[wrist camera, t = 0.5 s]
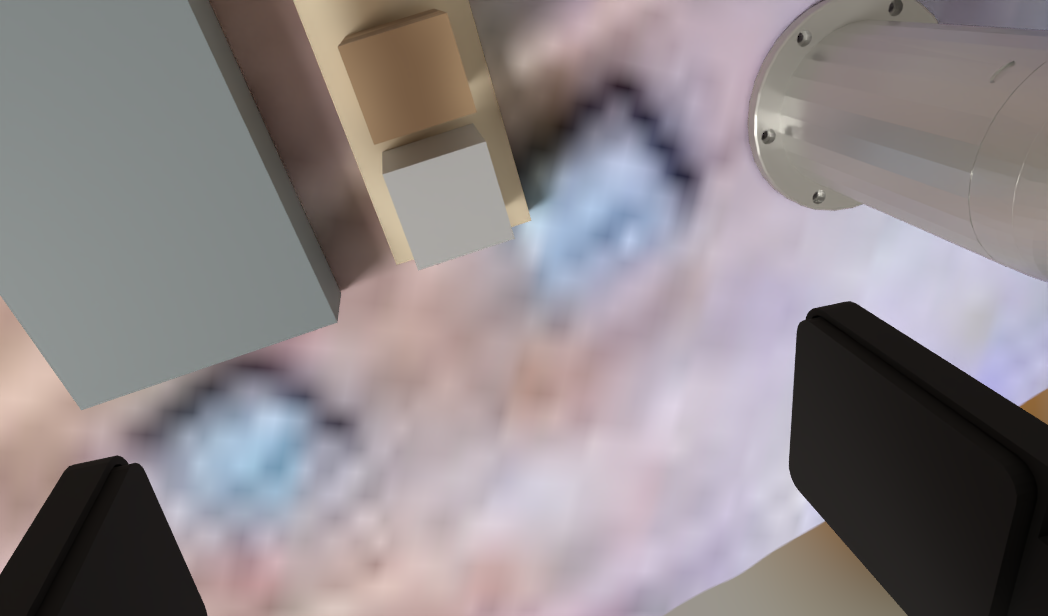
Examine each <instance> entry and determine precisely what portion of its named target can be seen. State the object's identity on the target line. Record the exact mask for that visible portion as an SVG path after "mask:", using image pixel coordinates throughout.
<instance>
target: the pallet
mask: <svg viewBox="0 0 1048 616" xmlns="http://www.w3.org/2000/svg"><path fill="white" fill-rule="evenodd" d="M293 1H294V4H295V6H296V9H297V11H298V14H299V16H300V19H301V22H302V24H303V27H304V29H305V32H306V34H307V37H308V39H309V42H310V45H311V47H312V50H313V52H314V55H315V57H316V60H317V63H318V65H319V68H320V70H321V73H322V75H323V78H324V80H325V83H326V86H327V88H328V91H329V93H330V96H331V98H332V101H333V103H334V106H335V109H336V111H337V114H338V116H339V119H340V121H341V124H342V126H343V129H344V132H345V134H346V137H347V139H348V142H349V144H350V147H351V150H352V152H353V155H354V157H355V160H356V162H357V165H358V167H359V170H360V173H361V175H362V178H363V180H364V183H365V185H366V188H367V190H368V193H369V196H370V198H371V201H372V203H373V206H374V208H375V211H376V213H377V216H378V219H379V221H380V224H381V226H382V229H383V231H384V234H385V237H386V239H387V242H388V244H389V247H390V249H391V252H392V254H393V257H394V260H395V262H396V265H398V264H401V263H404V262H407V261H410V260H413V259H414V257H413V255H412V252H411V249H410V247H409V244H408V241H407V239H406V236H405V233H404V231H403V228H402V225H401V223H400V220H399V217H398V215H397V212H396V209H395V207H394V204H393V201H392V199H391V196H390V193H389V191H388V188H387V185H386V183H385V180H384V177H383V175H382V152H384V151H387V150H391V149H394V148H397V147H400V146H403V145H406V144H409V143H412V142H416V141H419V140H422V139H425V138H428V137H431V136H434V135H438V134H441V133H444V132H447V131H450V130H453V129H456V128H459V127H463V126H466V125H469V124H472V123H473V124H474V125H475V127H476V128H477V130H478V131H479V133H480V134H481V135H482V137H483V138H484V140H485V141H486V144H487V147H488V151H489V154H490V157H491V161H492V164H493V167H494V171H495V174H496V177H497V181H498V184H499V188H500V191H501V194H502V198H503V201H504V204H505V208H506V211H507V214H508V218H509V221H510V224H511V227H513V226H516V225H519V224H522V223H525V222H528V221H531V218H530V214H529V211H528V207H527V204H526V200H525V197H524V193H523V190H522V186H521V183H520V179H519V176H518V172H517V169H516V165H515V162H514V158H513V155H512V151H511V148H510V144H509V141H508V137H507V134H506V130H505V127H504V123H503V120H502V116H501V113H500V109H499V106H498V102H497V99H496V95H495V92H494V88H493V84H492V81H491V77H490V74H489V70H488V67H487V63H486V60H485V56H484V53H483V49H482V46H481V42H480V39H479V35H478V32H477V28H476V25H475V21H474V18H473V14H472V11H471V7H470V4H469V0H293Z"/></svg>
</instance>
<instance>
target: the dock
mask: <svg viewBox="0 0 1048 616" xmlns="http://www.w3.org/2000/svg"><path fill="white" fill-rule="evenodd" d="M0 295H1V297H2V298H3V300H4V301H5V302H6V304H7V305H8V307H9V308H10V310H11V311H12V312H13V314H14V315H15V317H16V318H17V319H18V321H19V322H20V324H21V325H22V327H23V328H24V329H25V331H26V332H27V334H28V335H29V337H30V338H31V339H32V341H33V342H34V344H35V345H36V346H37V348H38V349H39V351H40V352H41V354H42V355H43V356H44V358H45V359H46V361H47V362H48V363H49V365H50V366H51V368H52V369H53V371H54V372H55V373H56V375H57V376H58V378H59V379H60V380H61V382H62V383H63V385H64V386H65V388H66V389H67V390H68V392H69V393H70V395H71V396H72V397H73V399H74V400H75V402H76V403H77V405H78V406H79V407H80V409H81V410H83V409H86V408H89V407H92V406H95V405H98V404H101V403H104V402H107V401H110V400H112V399H115V398H118V397H121V396H124V395H127V394H130V393H133V392H136V391H139V390H142V389H145V388H147V387H150V386H153V385H156V384H159V383H162V382H165V381H168V380H171V379H174V378H177V377H180V376H182V375H185V374H188V373H191V372H194V371H197V370H200V369H203V368H206V367H209V366H212V365H215V364H217V363H220V362H223V361H226V360H229V359H232V358H235V357H238V356H241V355H244V354H247V353H250V352H252V351H255V350H258V349H261V348H264V347H267V346H270V345H273V344H276V343H279V342H282V341H284V340H287V339H290V338H293V337H296V336H299V335H302V334H305V333H308V332H311V331H314V330H317V329H319V328H322V327H325V326H328V325H331V324H334V323H337V321H338V313H339V305H340V298H341V292H340V290H339V288H338V285H337V283H336V281H335V279H334V277H333V274H332V272H331V270H330V268H329V266H328V263H327V261H326V259H325V257H324V254H323V252H322V250H321V248H320V246H319V243H318V241H317V239H316V237H315V235H314V232H313V230H312V228H311V226H310V224H309V221H308V219H307V217H306V215H305V212H304V210H303V208H302V206H301V204H300V201H299V199H298V197H297V195H296V193H295V190H294V188H293V186H292V184H291V182H290V179H289V177H288V175H287V173H286V170H285V168H284V166H283V164H282V162H281V159H280V157H279V155H278V153H277V151H276V148H275V146H274V144H273V142H272V140H271V137H270V135H269V133H268V131H267V128H266V126H265V124H264V122H263V120H262V117H261V115H260V113H259V111H258V109H257V106H256V104H255V102H254V100H253V98H252V95H251V93H250V91H249V89H248V86H247V84H246V82H245V80H244V78H243V75H242V73H241V71H240V69H239V67H238V64H237V62H236V60H235V58H234V56H233V53H232V51H231V49H230V47H229V44H228V42H227V40H226V38H225V36H224V33H223V31H222V29H221V27H220V25H219V22H218V20H217V18H216V16H215V14H214V11H213V9H212V7H211V5H210V2H209V0H0Z"/></svg>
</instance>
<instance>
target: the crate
mask: <svg viewBox="0 0 1048 616" xmlns="http://www.w3.org/2000/svg"><path fill="white" fill-rule="evenodd" d="M382 175H383V177H384V180H385V183H386V185H387V188H388V191H389V193H390V196H391V199H392V201H393V204H394V207H395V209H396V212H397V215H398V217H399V220H400V223H401V225H402V228H403V231H404V233H405V236H406V239H407V241H408V244H409V247H410V249H411V252H412V255H413V257H414V260H415V263H416V265H417V268H418V270H421V269H424V268H427V267H430V266H433V265H436V264H439V263H442V262H445V261H448V260H451V259H454V258H457V257H461V256H464V255H467V254H470V253H473V252H476V251H479V250H482V249H485V248H488V247H491V246H494V245H497V244H500V243H503V242H506V241H509V240H512V239H515V238H514V234H513V231H512V228H511V224H510V221H509V218H508V214H507V211H506V208H505V204H504V201H503V198H502V194H501V191H500V188H499V184H498V181H497V177H496V174H495V171H494V167H493V164H492V161H491V157H490V154H489V151H488V147H487V144H486V141H485V140H484V138H483V137H482V135H481V134H480V133H479V131H478V130H477V128H476V127H475V125H474V124H473V123H472V124H469V125H466V126H463V127H459V128H456V129H453V130H450V131H447V132H444V133H441V134H438V135H434V136H431V137H428V138H425V139H422V140H419V141H416V142H412V143H409V144H406V145H403V146H400V147H397V148H394V149H391V150H387V151H384V152H382Z"/></svg>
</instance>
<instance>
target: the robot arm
mask: <svg viewBox="0 0 1048 616" xmlns="http://www.w3.org/2000/svg"><path fill="white" fill-rule="evenodd" d="M798 35H799V39H798V41H797V37H798ZM763 133H764V136H763V137H762V134H763ZM748 134H749V144H750V147H751V151H752V154H753V158H754V161H755V163H756V165H757V167H758V168H759V170H760V172H761V174H762V176H763V177H764V178H765V180H766V181H767V182H768V183H769V184H770V185H771V186H772V188H773V189H774V190H776V191H777V192H779V193H780V194H781V195H783V196H784V197H786V198H787V199H789V200H791V201H793V202H796V203H798V204H799V205H801V206H805V207H808V208H811V209H815V210H830V211H836V210H842V209H849V208H854V207H856V206H859V205H862V204H865V205H867V206H869V207H872V208H874V209H876V210H879V211H881V212H883V213H885V214H888V215H890V216H892V217H894V218H897V219H899V220H901V221H904V222H906V223H908V224H910V225H913V226H915V227H917V228H919V229H922V230H924V231H926V232H929V233H931V234H933V235H935V236H938V237H940V238H942V239H944V240H947V241H949V242H951V243H954V244H956V245H958V246H960V247H963V248H965V249H967V250H969V251H972V252H974V253H976V254H979V255H981V256H983V257H985V258H988V259H990V260H992V261H994V262H997V263H999V264H1001V265H1003V266H1006V267H1009V268H1011V269H1014V270H1016V271H1018V272H1020V273H1023V274H1025V275H1027V276H1030V277H1033V278H1036V279H1039V280H1042V281H1045V282H1048V30H1037V29H1020V28H1003V27H986V26H969V25H952V24H939V23H938V21H937V19H936V18H935V16H934V15H933V14H932V13H931V12H930V11H929V10H928V9H927V8H926V7H925V6H924V5H923V4H922V3H920V2H918V1H917V0H824V1H822V2H820V3H818V4H817V5H815V6H813V7H811V8H810V9H808V10H807V11H806V12H805V13H803V14H802V15H801V16H800V17H799V18H797V19H796V20H795V21H794V22H792V23H791V25H790V26H789V27H788V28H787V29H786V30H785V31H784V32H783V34H782V35H781V36H780V37H779V38H778V39H777V40H776V42H775V44H774V45H773V47H772V48H771V50H770V51H769V53H768V55H767V56H766V58H765V59H764V61H763V64H762V66H761V68H760V70H759V73H758V75H757V77H756V80H755V83H754V86H753V90H752V94H751V98H750V102H749V112H748ZM789 470H790V475H791V478H792V480H793V482H794V484H795V486H796V487H797V489H798V490H799V491H800V493H801V494H802V495H803V496H804V497H805V498H806V499H807V501H808V502H809V503H810V504H811V505H812V506H813V507H814V509H815V510H816V511H817V512H818V513H819V514H820V515H821V517H822V518H823V519H824V520H825V521H826V522H827V523H828V525H829V526H830V527H831V528H832V529H833V530H834V531H835V533H836V534H837V535H838V536H839V537H840V538H841V539H842V541H843V542H844V543H845V544H846V545H847V546H848V547H849V548H850V550H851V551H852V552H853V553H854V554H855V556H856V557H857V558H858V559H859V560H860V561H861V562H862V563H863V565H864V566H865V567H866V568H867V569H868V570H869V572H870V573H871V574H872V575H873V576H874V577H875V578H876V580H877V581H878V582H879V583H880V584H881V585H882V586H883V588H884V589H885V590H886V591H887V592H888V593H889V594H890V595H891V597H892V598H893V599H894V600H895V601H896V602H897V604H898V605H899V606H900V607H901V608H902V609H903V610H904V611H905V613H906V614H907V615H908V616H1048V425H1047V424H1045V423H1044V422H1042V421H1040V420H1039V419H1038V418H1036V417H1034V416H1033V415H1031V414H1030V413H1028V412H1026V411H1025V410H1023V409H1022V408H1020V407H1019V406H1017V405H1015V404H1014V403H1012V402H1011V401H1009V400H1008V399H1006V398H1004V397H1003V396H1001V395H1000V394H998V393H996V392H995V391H993V390H992V389H990V388H989V387H987V386H985V385H984V384H982V383H981V382H979V381H978V380H976V379H974V378H973V377H971V376H970V375H968V374H966V373H965V372H963V371H962V370H960V369H959V368H957V367H955V366H954V365H952V364H951V363H949V362H948V361H946V360H944V359H943V358H941V357H940V356H938V355H936V354H935V353H933V352H932V351H930V350H929V349H927V348H925V347H924V346H922V345H921V344H919V343H918V342H916V341H914V340H913V339H911V338H910V337H908V336H906V335H905V334H903V333H902V332H900V331H899V330H897V329H895V328H894V327H892V326H891V325H889V324H888V323H886V322H884V321H883V320H881V319H880V318H878V317H876V316H875V315H873V314H872V313H870V312H869V311H867V310H865V309H864V308H862V307H861V306H859V305H858V304H856V303H853V302H851V301H848V302H842V303H837V304H832V305H828V306H823V307H818V308H813V309H812V310H810V311H809V312H808V314H807V316H806V320H803V321H802V322H800V323H799V325H798V328H797V338H796V355H795V371H794V388H793V404H792V421H791V437H790V454H789ZM0 616H207V612H206V608H205V605H204V603H203V601H202V599H201V596H200V594H199V592H198V590H197V587H196V585H195V583H194V581H193V578H192V576H191V574H190V572H189V569H188V567H187V565H186V563H185V560H184V558H183V556H182V554H181V551H180V549H179V547H178V545H177V542H176V540H175V538H174V536H173V533H172V531H171V529H170V527H169V524H168V522H167V520H166V518H165V515H164V513H163V511H162V509H161V506H160V504H159V502H158V500H157V497H156V495H155V493H154V491H153V488H152V486H151V484H150V482H149V479H148V477H147V475H146V473H145V471H144V469H143V467H142V466H141V465H140V464H138V463H133V464H128V462H127V461H126V460H125V459H124V458H123V457H121V456H113V457H108V458H103V459H99V460H94V461H89V462H84V463H80V464H75V465H72V466H69V467H68V468H67V469H66V470H65V471H64V473H63V474H62V476H61V477H60V479H59V481H58V482H57V484H56V485H55V487H54V489H53V490H52V492H51V493H50V495H49V497H48V498H47V500H46V502H45V503H44V505H43V506H42V508H41V510H40V511H39V513H38V514H37V516H36V518H35V519H34V521H33V522H32V524H31V526H30V527H29V529H28V531H27V532H26V534H25V535H24V537H23V539H22V540H21V542H20V543H19V545H18V547H17V548H16V550H15V551H14V553H13V555H12V556H11V558H10V560H9V561H8V563H7V564H6V566H5V568H4V569H3V571H2V572H1V574H0Z"/></svg>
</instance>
